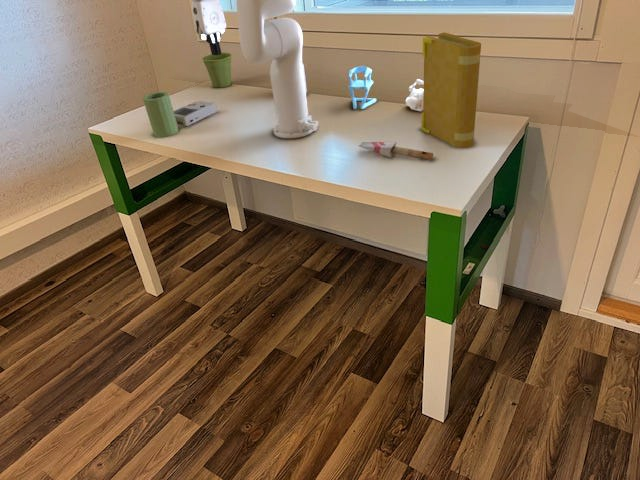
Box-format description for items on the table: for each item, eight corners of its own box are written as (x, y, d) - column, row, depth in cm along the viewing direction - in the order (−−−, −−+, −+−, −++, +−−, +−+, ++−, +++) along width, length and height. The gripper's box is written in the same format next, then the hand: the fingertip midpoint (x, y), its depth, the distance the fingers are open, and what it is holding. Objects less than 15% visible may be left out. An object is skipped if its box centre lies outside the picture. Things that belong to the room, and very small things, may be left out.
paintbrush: (363, 136, 132) (435, 148, 123) (363, 145, 134) (434, 158, 125) (357, 141, 129) (429, 154, 121) (357, 151, 131) (428, 164, 122)
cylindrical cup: (183, 129, 159) (173, 93, 153) (164, 138, 154) (153, 101, 148) (168, 126, 163) (157, 90, 157) (149, 135, 158) (137, 98, 152)
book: (421, 129, 139) (422, 37, 125) (441, 123, 141) (444, 32, 127) (457, 150, 126) (463, 49, 112) (479, 143, 128) (487, 43, 114)
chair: (346, 109, 159) (343, 71, 152) (354, 100, 165) (352, 64, 159) (369, 110, 157) (367, 72, 150) (376, 101, 163) (375, 64, 156)
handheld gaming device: (218, 112, 170) (215, 101, 167) (186, 128, 160) (183, 116, 158) (200, 110, 174) (197, 99, 172) (169, 125, 165) (165, 114, 162)
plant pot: (223, 91, 190) (217, 61, 183) (201, 88, 195) (195, 59, 189) (243, 81, 197) (238, 53, 191) (221, 79, 203) (215, 51, 197)
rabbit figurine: (444, 107, 151) (446, 76, 146) (434, 116, 147) (435, 84, 141) (410, 103, 158) (410, 72, 152) (398, 111, 153) (398, 80, 148)
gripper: (193, -2, 149) (208, 60, 159) (227, -10, 158) (239, 49, 168) (177, -1, 153) (193, 60, 163) (211, -9, 162) (224, 48, 172)
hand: (216, 54), depth 165 cm, fingers closed
